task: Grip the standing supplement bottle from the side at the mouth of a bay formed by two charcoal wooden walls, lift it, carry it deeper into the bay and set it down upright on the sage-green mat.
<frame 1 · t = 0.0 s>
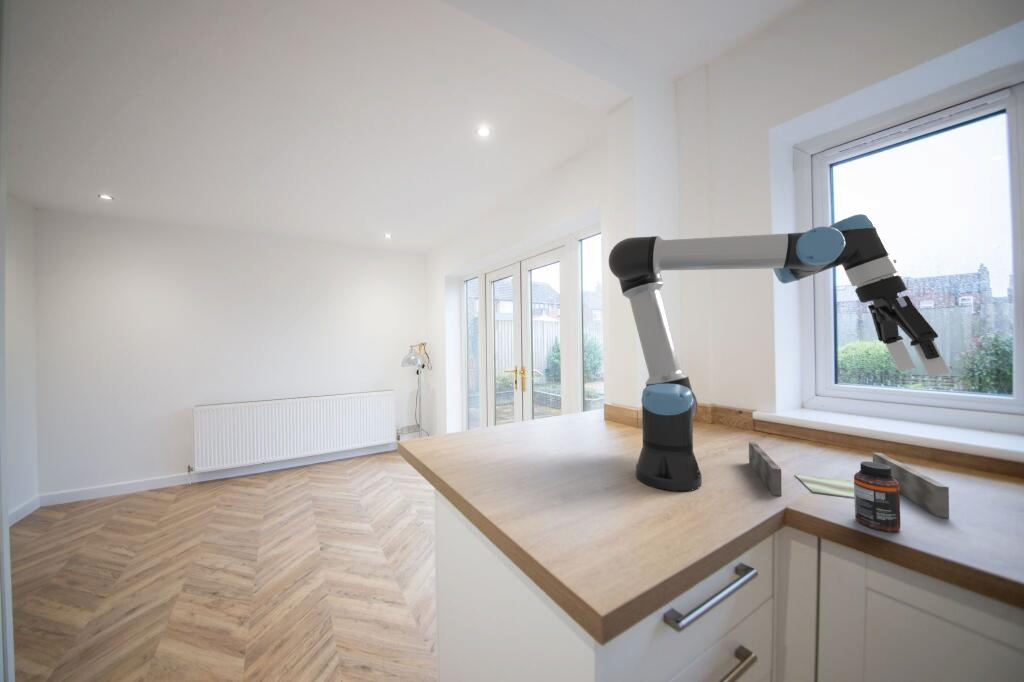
hand: (921, 371, 74), 28 cm above the worktop, tool tilted 20°, fingers open, 13 cm apart
supplement bottle: (876, 525, 65), on the worktop
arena: (832, 487, 82), on the worktop
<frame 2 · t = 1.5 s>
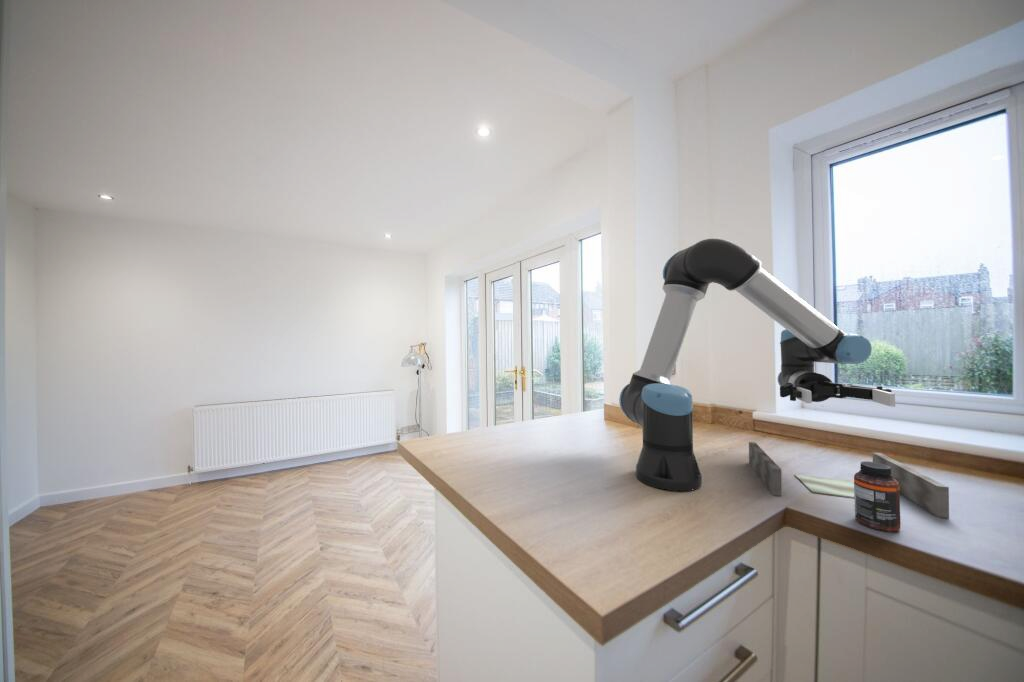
hand: (849, 398, 74), 22 cm above the worktop, tool horizontal, fingers open, 13 cm apart
nothing on the worktop moved.
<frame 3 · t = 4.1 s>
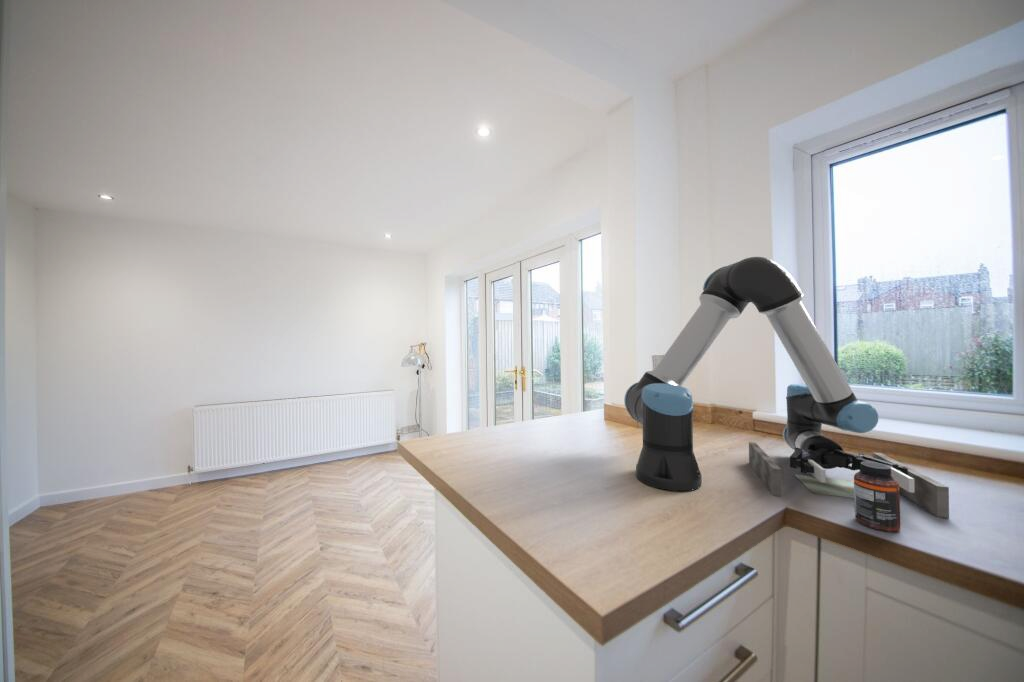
hand: (866, 480, 70), 6 cm above the worktop, tool horizontal, fingers open, 13 cm apart
nothing on the worktop moved.
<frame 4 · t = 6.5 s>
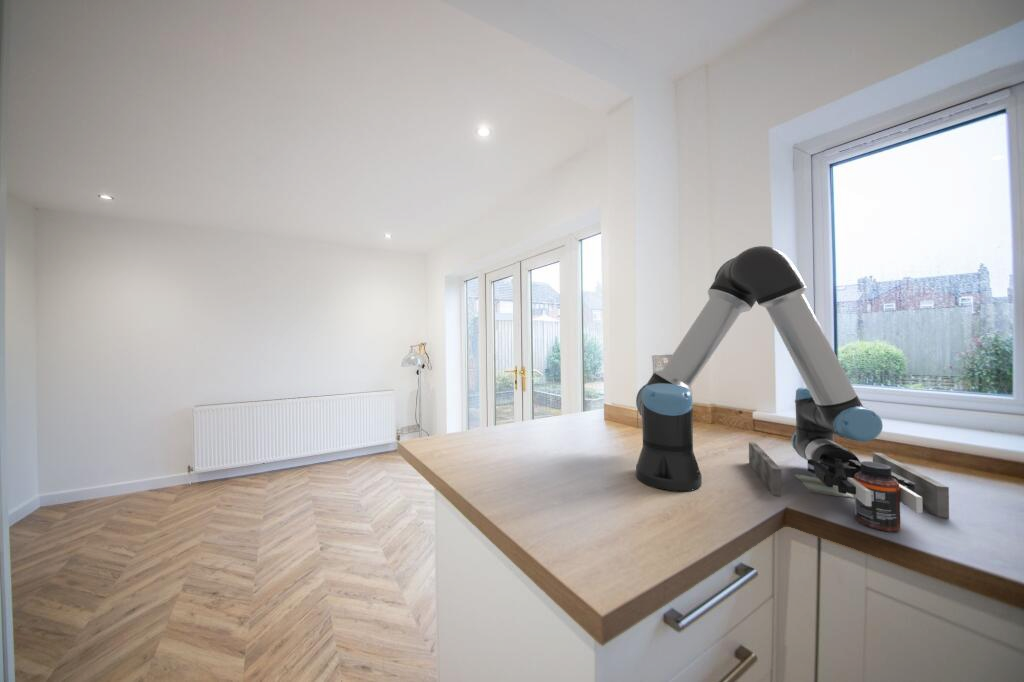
hand: (893, 501, 61), 7 cm above the worktop, tool horizontal, fingers closed on supplement bottle, 6 cm apart
supplement bottle: (876, 525, 65), on the worktop, touching gripper
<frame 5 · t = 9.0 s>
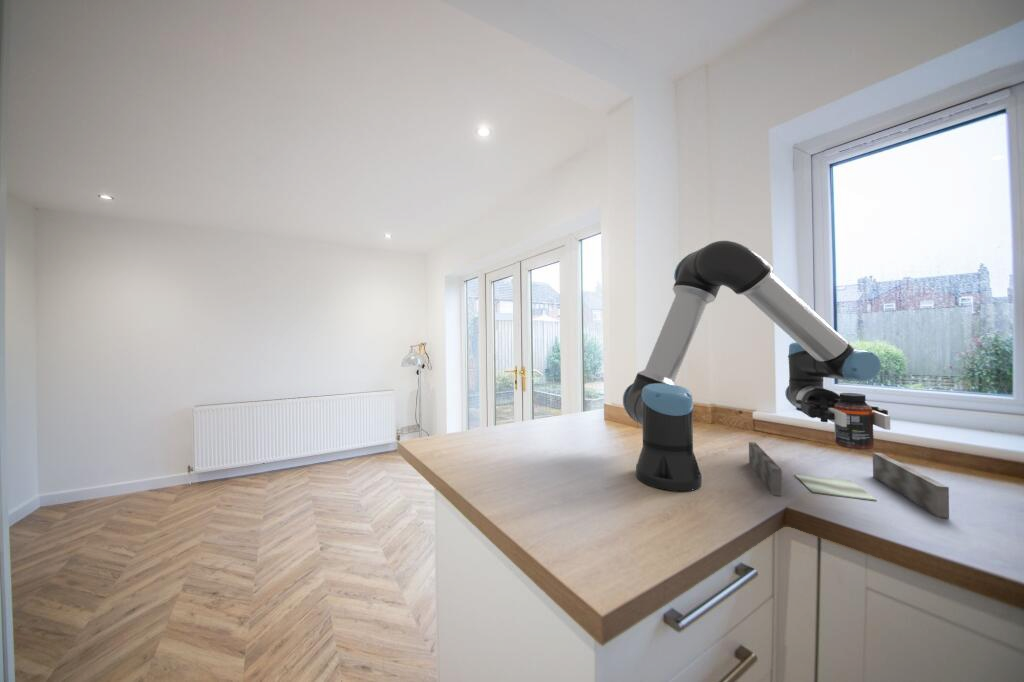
hand: (865, 421, 70), 18 cm above the worktop, tool horizontal, fingers closed on supplement bottle, 6 cm apart
supplement bottle: (853, 447, 74), point 12 cm above the worktop, touching gripper
when the fingers open (8 cm above the worktop, at t = 11.8 s): supplement bottle drops 1 cm, resting on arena.
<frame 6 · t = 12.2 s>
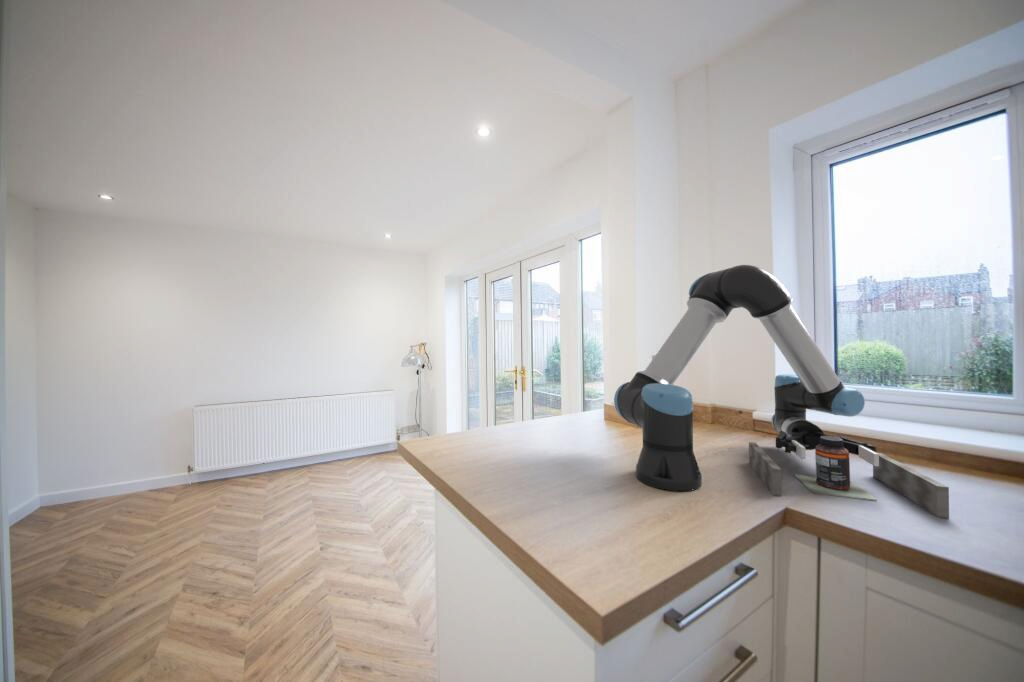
hand: (839, 456, 79), 8 cm above the worktop, tool horizontal, fingers open, 12 cm apart
supplement bottle: (832, 486, 82), resting on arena
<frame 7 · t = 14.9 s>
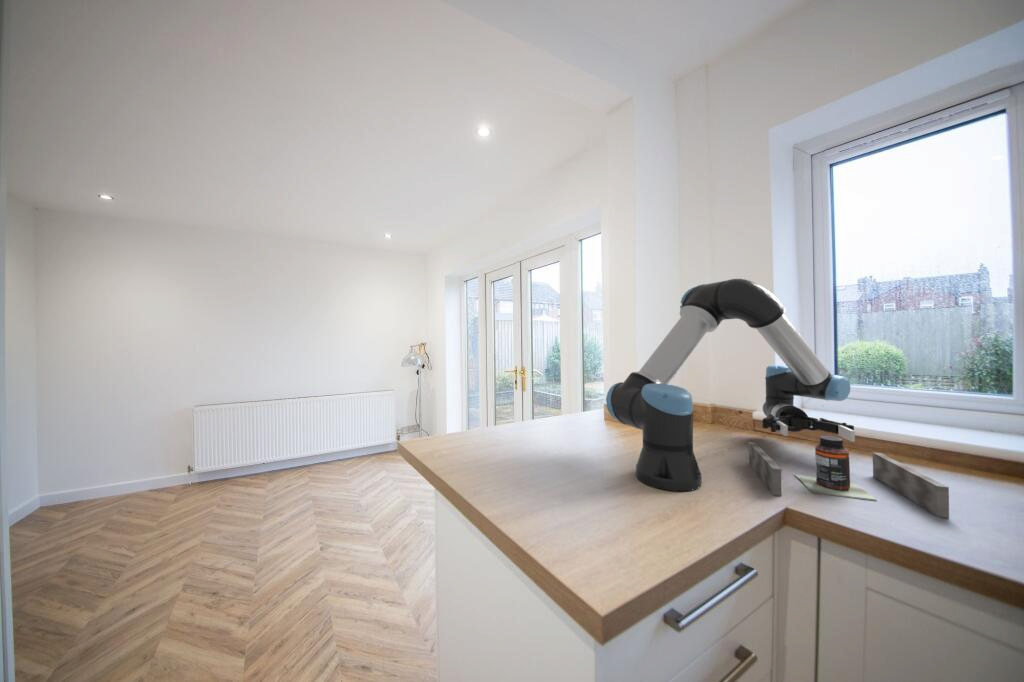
hand: (818, 433, 89), 11 cm above the worktop, tool horizontal, fingers open, 13 cm apart
nothing on the worktop moved.
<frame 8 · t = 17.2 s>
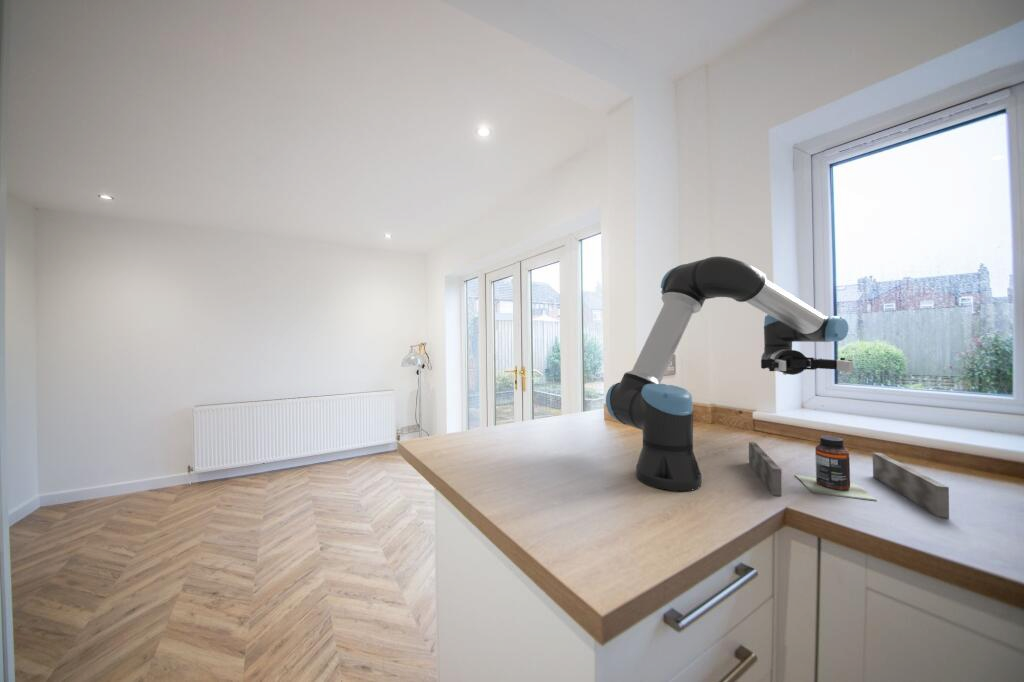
hand: (816, 366, 89), 28 cm above the worktop, tool horizontal, fingers open, 13 cm apart
nothing on the worktop moved.
at the end: supplement bottle 0.1 cm off-centre on the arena, point 0.1 cm above the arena's base; supplement bottle tilted 0°; the gripper is holding nothing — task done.
